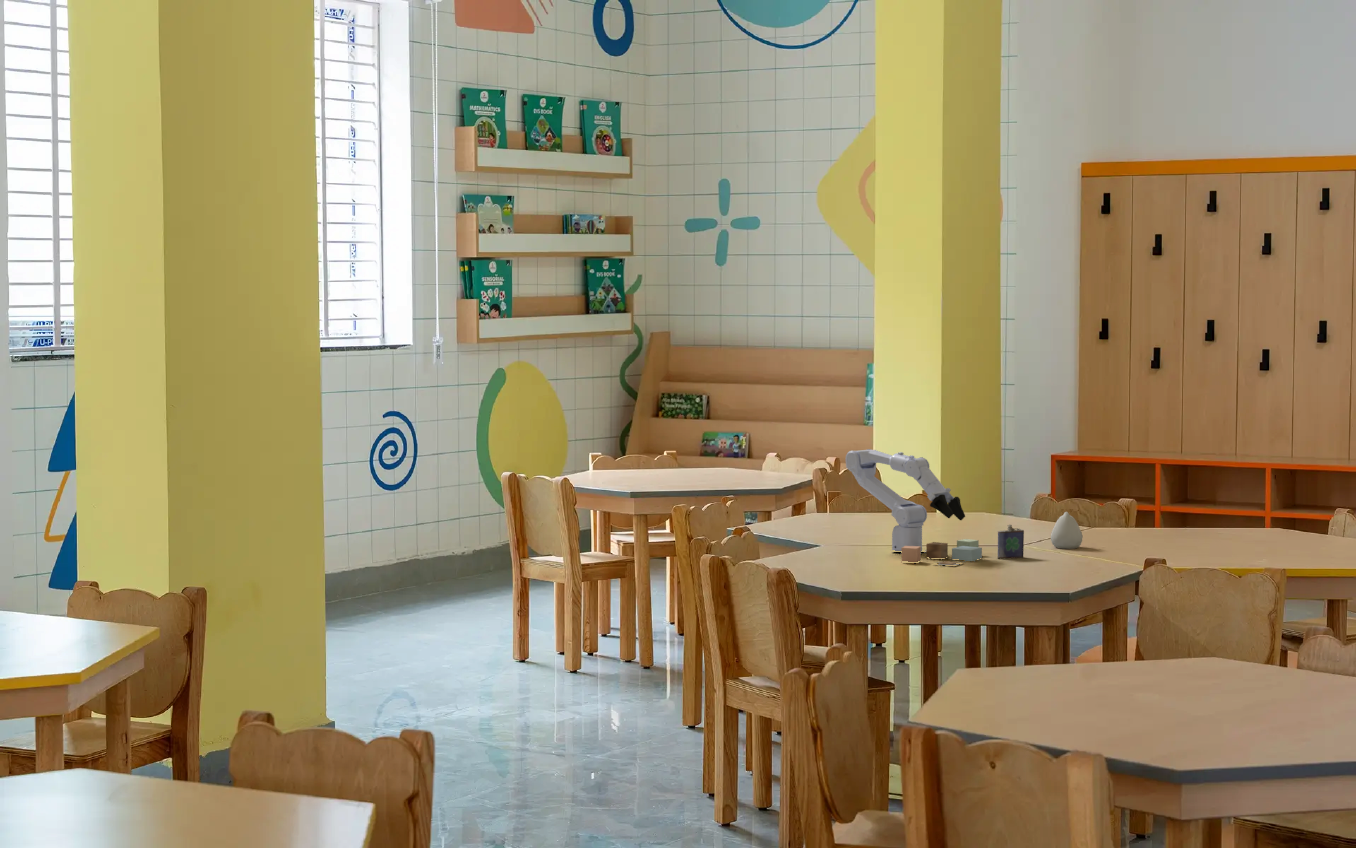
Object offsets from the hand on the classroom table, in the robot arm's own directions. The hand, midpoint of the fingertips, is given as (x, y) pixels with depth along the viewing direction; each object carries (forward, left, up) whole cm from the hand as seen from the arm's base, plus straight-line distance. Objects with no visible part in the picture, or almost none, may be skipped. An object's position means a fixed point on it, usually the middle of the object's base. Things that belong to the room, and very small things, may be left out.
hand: (957, 517), depth 464 cm
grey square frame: (+3, -12, -13) cm, 19 cm away
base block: (+3, +1, -14) cm, 14 cm away
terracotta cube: (-9, -14, -14) cm, 22 cm away
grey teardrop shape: (+19, +44, -14) cm, 50 cm away
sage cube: (-1, +10, -14) cm, 17 cm away
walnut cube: (-6, -2, -14) cm, 15 cm away
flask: (+13, +12, -14) cm, 22 cm away
